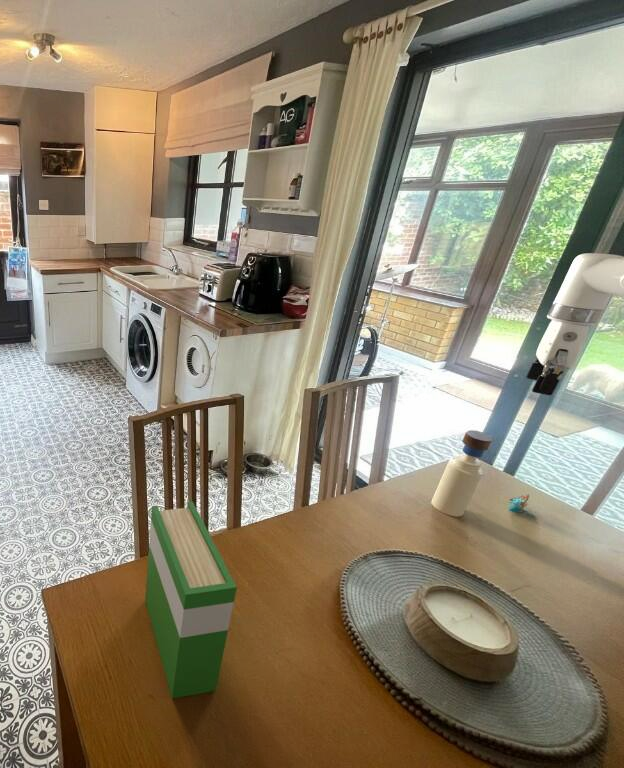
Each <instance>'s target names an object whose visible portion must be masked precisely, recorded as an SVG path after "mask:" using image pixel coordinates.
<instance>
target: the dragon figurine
mask: <svg viewBox="0 0 624 768" xmlns="http://www.w3.org/2000/svg"><path fill="white" fill-rule="evenodd" d="M529 495H530V494H525V495H523V494H522V495H520V496H517V497H518V498H514V499H513V500H514V501H511V500H509V501H508V503H509V504H510V505H509V506H508V508H507V509H508V511H510V512H511V511H512V513H517V514H519V513H520V515H522V514H527V515H529V516H531V517H533V518H535V517H536V515H535V514H533V513H532V512H529V511H528V510H526V509H524V508H525V507H527V506H528V500H529V498H530V496H529Z"/></svg>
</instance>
